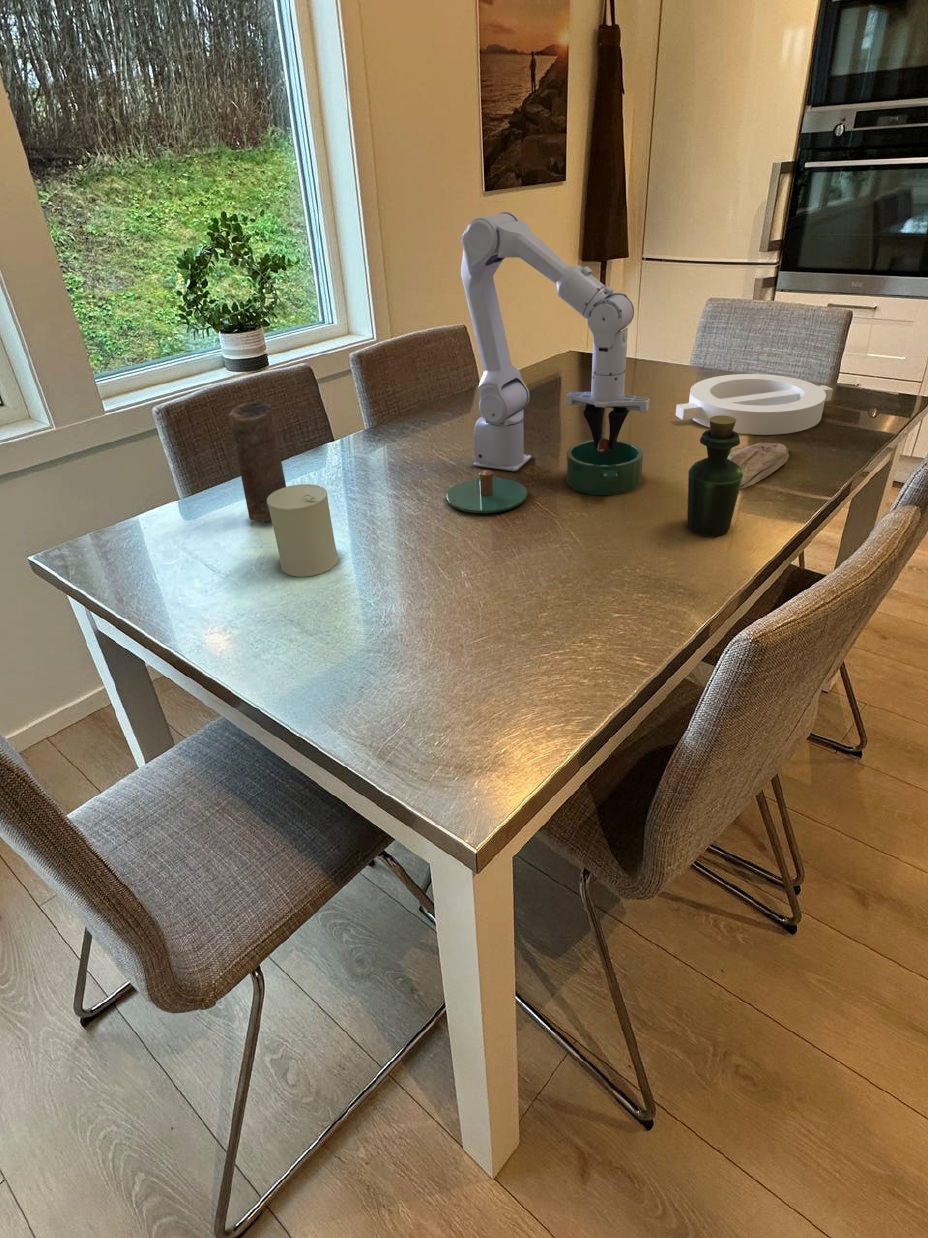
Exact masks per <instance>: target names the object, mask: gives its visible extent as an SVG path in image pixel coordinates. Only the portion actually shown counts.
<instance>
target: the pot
mask: <svg viewBox="0 0 928 1238" xmlns="http://www.w3.org/2000/svg"><path fill="white" fill-rule="evenodd" d="M643 459H644V453H643V449H642V448H641V447H640V446H638V445H636V444H634V443H631V442H628V441H625V440H619V439H617V442H616V446H615V447H614V449H613V450H610V451H609V452H608V453H605V454H599V453H598V448H595V447H594V441H593V439H592V440H585V441H582V442H581V441H580V442H578V443H576V444H574V445H572V446H570V447H569V448H568V449H567V451H566V483H567V485H568V486H569V487H570V488H572V489H573V490H575V491H577V492H580V493H583V494H587V495H593V496H594V495H595V496H613V495H622V494H625V493H628V492H631V491H633V490H635V489H637V488H638V487H639V486H640V484H641V480H642V472H643V462H644V461H643Z"/></svg>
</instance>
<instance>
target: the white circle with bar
mask: <svg viewBox="0 0 928 1238" xmlns="http://www.w3.org/2000/svg"><path fill="white" fill-rule="evenodd" d="M833 392H834V388H831V387H829V386H828V385H824V384H821V385H817V384H814V383H812V382H810V381H807V380H803V379H800V378H795V377H790V376H783V375H777V374H776V375H775V374H763V373H762V374H761V373H737V374H736V373H735V374H726V375H719V376H713V377H708V378H705V379H702V380H700V381H698V382H696V383H694V384H692V386H691V387H690V389H689V398H688V402H687V403H679V404H676V407H675V416H676V417H678V418H679V419H680V420H682V421H685V420H693V421H694V422H696V423H698V424H699V425H702V426H704V427H707V428H710V418H711V417H713V416H719V415H720V416H730V417H733V418H735V419H736V423H735V425H734V428H733V431H735V432H736V433H738V434H741V435H759V436H770V435H784V434H785V435H787V434H792V433H797V432H801V431H805V430H809V429H811V428H813V427H815V426H816V425H818V424H819V423H820V422H821V420H822V417H823V412H824V408H825V403H826V402H829V401H832V397H833Z"/></svg>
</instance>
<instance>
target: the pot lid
mask: <svg viewBox="0 0 928 1238" xmlns="http://www.w3.org/2000/svg"><path fill="white" fill-rule="evenodd" d="M478 476H479V478H473V479H469V480H464V481H462V482H459V483H457V484H455V485H453V486H452V487H450V489H449V490H448V491H447V493H446V501H447V503H448V504H449V505H450V506H451V507H453V508H454V509H457V510H460V511H462V512H466V513H473V514H494V513H499V512H505V511H508V510H512V509H514V508H516V507H518V506H520V505H521V504H523V503H524V502H525V501H526V499H527V497H528V490H527V488H526V486H525V485H523V484H522V483H520V482H518V481H515V480H513V479H508V478H502V477H494V473H493V471H492V470H489V469H483V470H481V471H479V473H478Z"/></svg>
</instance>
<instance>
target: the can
mask: <svg viewBox="0 0 928 1238" xmlns="http://www.w3.org/2000/svg"><path fill="white" fill-rule="evenodd" d="M267 504H268V507H269V512H270V516H271V520H272V528H273V533H274V538H275V541H276V542H275V543H276V546H277V547H276V548H277V552H278V556H279V562H280V570H281V571H282V572H283V573H285V574H286V575H288V576H292V577H299V578H304V577H314V576H317V575H321V574H324V573H326V572H329V571H330V570H332V569H333V568H334V567H335V566H336V565H337V564H338V562H339V560H340V557H339V553H338V552H337V547H336V541H335V534H334V529H333V524H332V518H331V510H330V505H329V499H328V491H327V489H326V488H324V487H323V486H320V485H319V484H318V485H317V484H311V483H310V484H309V483H304V484H303V483H301V484H300V483H299V484H293V485H288V486H286V487H284V488H281V489H279V490H277V491H275V492H273V493H272V494H270V495H269V496H268V498H267Z"/></svg>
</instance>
